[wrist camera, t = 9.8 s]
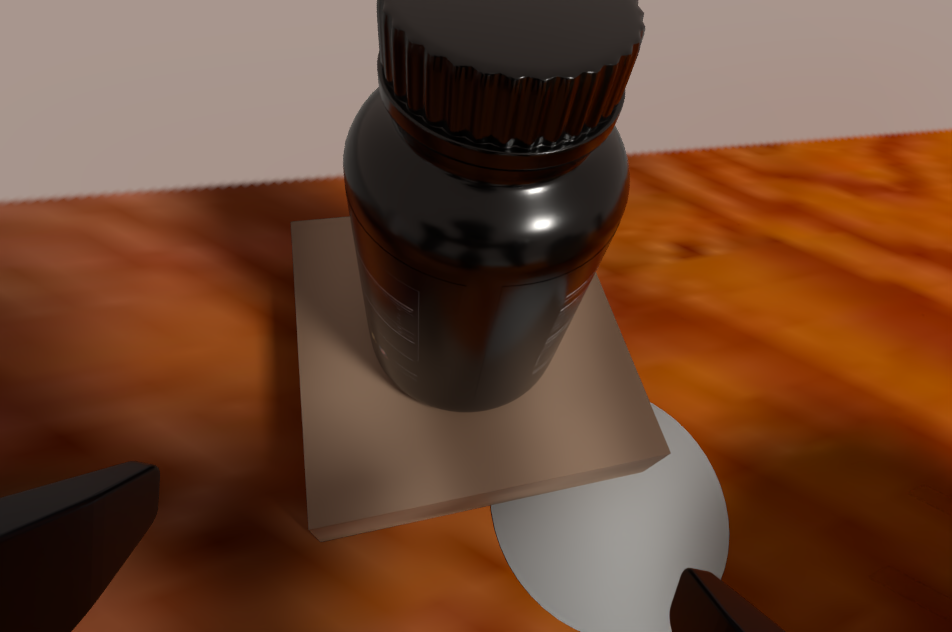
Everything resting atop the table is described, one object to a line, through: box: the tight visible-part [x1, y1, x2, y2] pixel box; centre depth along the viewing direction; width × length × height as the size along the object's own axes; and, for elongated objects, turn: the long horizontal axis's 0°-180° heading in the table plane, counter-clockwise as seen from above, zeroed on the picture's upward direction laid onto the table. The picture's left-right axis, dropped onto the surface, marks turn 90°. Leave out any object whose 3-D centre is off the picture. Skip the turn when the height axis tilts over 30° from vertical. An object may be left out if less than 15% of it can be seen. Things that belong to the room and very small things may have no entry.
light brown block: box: [291, 216, 671, 542], centre depth 20 cm, size 12×12×2 cm
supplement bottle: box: [343, 0, 645, 413], centre depth 14 cm, size 7×7×12 cm
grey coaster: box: [491, 403, 729, 632], centre depth 19 cm, size 9×9×1 cm
